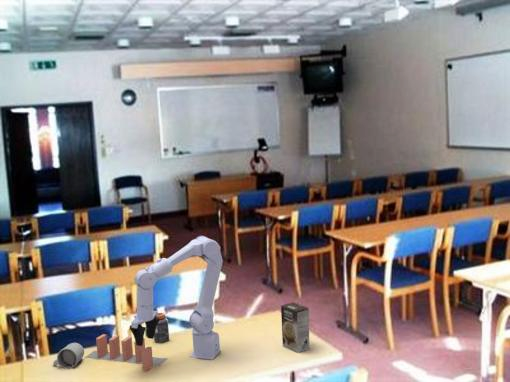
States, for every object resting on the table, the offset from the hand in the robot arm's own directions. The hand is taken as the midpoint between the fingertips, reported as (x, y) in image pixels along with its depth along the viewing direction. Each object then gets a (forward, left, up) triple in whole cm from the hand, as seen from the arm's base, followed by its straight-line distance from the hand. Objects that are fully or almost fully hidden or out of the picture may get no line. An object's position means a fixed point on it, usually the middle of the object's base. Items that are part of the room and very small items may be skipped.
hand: (145, 341), depth 205 cm
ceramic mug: (+31, +4, -10) cm, 33 cm away
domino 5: (-1, +1, -10) cm, 10 cm away
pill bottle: (+7, -24, -10) cm, 27 cm away
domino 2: (+17, -5, -10) cm, 20 cm away
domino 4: (+6, -5, -10) cm, 13 cm away
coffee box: (-47, -30, -10) cm, 56 cm away
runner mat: (+12, -5, -10) cm, 17 cm away
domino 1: (+22, -5, -10) cm, 25 cm away
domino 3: (+11, -5, -10) cm, 16 cm away
